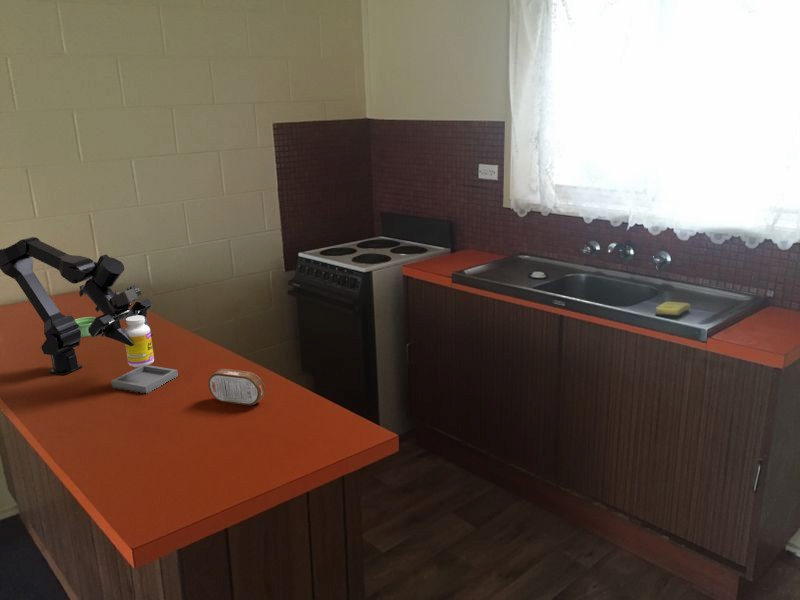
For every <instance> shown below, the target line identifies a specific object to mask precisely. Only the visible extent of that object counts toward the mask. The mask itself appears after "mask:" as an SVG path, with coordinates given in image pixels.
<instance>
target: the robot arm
mask: <svg viewBox="0 0 800 600" xmlns="http://www.w3.org/2000/svg"><path fill="white" fill-rule="evenodd" d="M33 259H36V260H37V261H39V262H42V263H43V264H46V265H48V266H50V267H52V268H53V269H56V270H57V271H59V273H60V276H61V277H62V278H63V279H65V280H67V281H68V282H69V283H70V284H73V285H75V284H79V283H82V282H85V283H83V284H82V285H79V292H78V293H79V297H83V296H87V297H88V298H89V299H90V300H91V301H92V302H93V304H94V305H95V306H96V307H95V309H94V310H95V311H96V312H97V313H98V312H101V313H102V314H101V315H98V316H96V318H95V319H94V321H93V322H92V324H91V325H90V326H89V328H88V330H89V333H90V335H91V337H92V338H97V337H99V336H100V337H102V338H104V337H105V338H109V339H112V340H115V341H117V342H120V343H123V344H124V345H125V344H127V345H129V346H133V344H134V343H133V341H132V340H131V339H130V337H129V336H128V335H127V334H126V333H125V331H124V329H123V328H122V325H121V321H123V320H126V318H128V317H130V316H136V315H141V316H144V318H145V322H144V324H145V325H147V326H148V327H149V328H150V333H151V338H152V337H153V333H152V332H153V331H152V329H151V327H150V324H149V322H148V318H147V313H148V312H149V311H150V309H151V308H152V307H153V305H154V303H153V302H152V301H151V300H150V299H149V298H143V299H142V298H141V299H140V296H141V294H142V291H141V289H140V288H139V287H138V286H137V285H136V284H133V285H130V286H128V287H127V288H126V290H125V291H122V292H120V291H118V290H117V291H114V290H113V289H112V288H111V287H113V286H115V284H116V283H117V281H118V280H119V279H120V277H121V276H122V274H123V273H124V271H125V265H124V263H123V262H122V261H121V260H119V259H116V258H114V257H112V256H111V257H110V256H109V255H108V254H103V255H100V257H99V258H98V260H97V262H96V261H94V260H93V259H91V258H90V257H86V256H83V255H72V254H68V253H66V252H64V251H62V250H61V249H58V248H56V247H54V246H51V245H49V244H47V243H46V242H43V241H41V240H40V239H39V238H38V237H36V236H35V237H34V236H32V237H28V238H23V239H20V240H19V241H17V242H16V243H14V244H12V245H10V246H8V247H4V248H1V249H0V270H1V272H2V273H3V274H4V275H6V276H7V277H10V278H12V279H14V281H16V283H17V284H18V286H19V287H20V289H21V290H22V292H23V293H24V295H25V296H26V297H27V300H29V302H30V304H31V305H32V306H33V308H34V310H35V311H36V313H37V315H38V316H39V318H41V319H40V320H42V322H43V334H44V336H45V340H44V342H43V343H42V345H41V346H40V349H41V350H42V352H43V355H47V356H50V360H51V362H52V363H51V364H52V368H51V369H49V370H48V373H49V374H50V373H51V374H56V375H60V376H61V375H62V376H65V375H66V376H67V375H68V374H70V373H72V372H74V371H77V370H79V369H81V368H83V365H82V364H79V363H78V357H77V354H76V349H75V348H76V347H79V346H81V345H80V344H81V338H82V337H81V331H80V329H79V327H80V326H79V325H78V324H77V323H76V322H75V318H74V316H73V315H71V314H69V315H65V314H63V313H61V312H60V309H59V308H58V306H57V305H56V304H55V302H54V300H53V299H52V298H51V296H50V295H49V294H48V292H47V290H46V288H45V287H44V286H43V284H42V283H41V281H40V279H39V278H38V277H37V275H36V273H35V272H34V260H33ZM132 302H134V303H132ZM131 306H132V307H131ZM130 307H131V308H130Z"/></svg>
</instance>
